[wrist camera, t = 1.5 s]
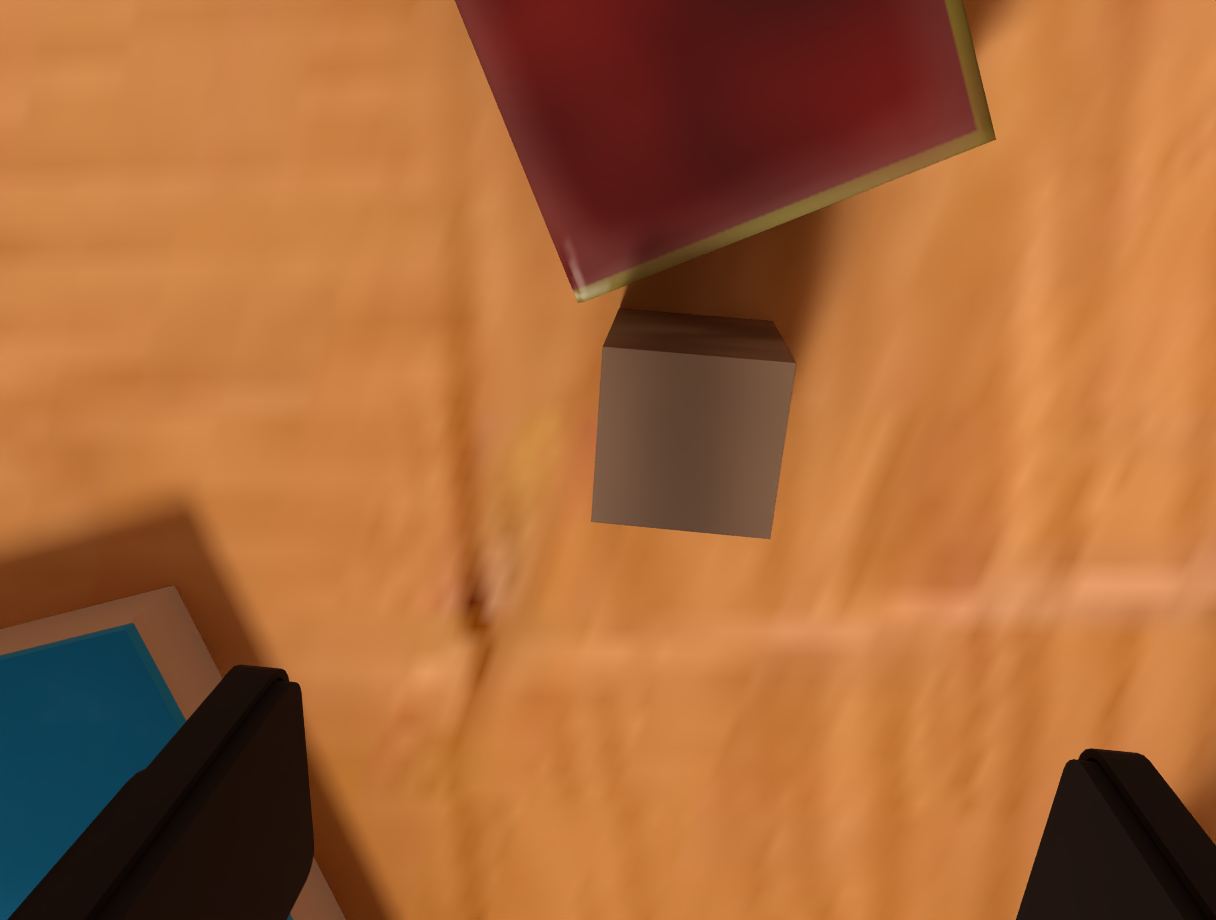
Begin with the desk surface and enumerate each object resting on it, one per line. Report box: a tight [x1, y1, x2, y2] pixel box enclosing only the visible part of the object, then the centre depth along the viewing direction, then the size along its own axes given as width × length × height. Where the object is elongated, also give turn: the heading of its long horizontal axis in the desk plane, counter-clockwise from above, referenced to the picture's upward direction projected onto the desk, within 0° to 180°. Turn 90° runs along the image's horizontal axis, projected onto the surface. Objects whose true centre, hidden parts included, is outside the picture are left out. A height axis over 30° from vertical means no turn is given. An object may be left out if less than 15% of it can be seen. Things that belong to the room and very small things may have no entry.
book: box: [0, 585, 346, 920], centre depth 36 cm, size 17×4×25 cm
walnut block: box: [591, 309, 796, 539], centre depth 25 cm, size 5×5×6 cm
